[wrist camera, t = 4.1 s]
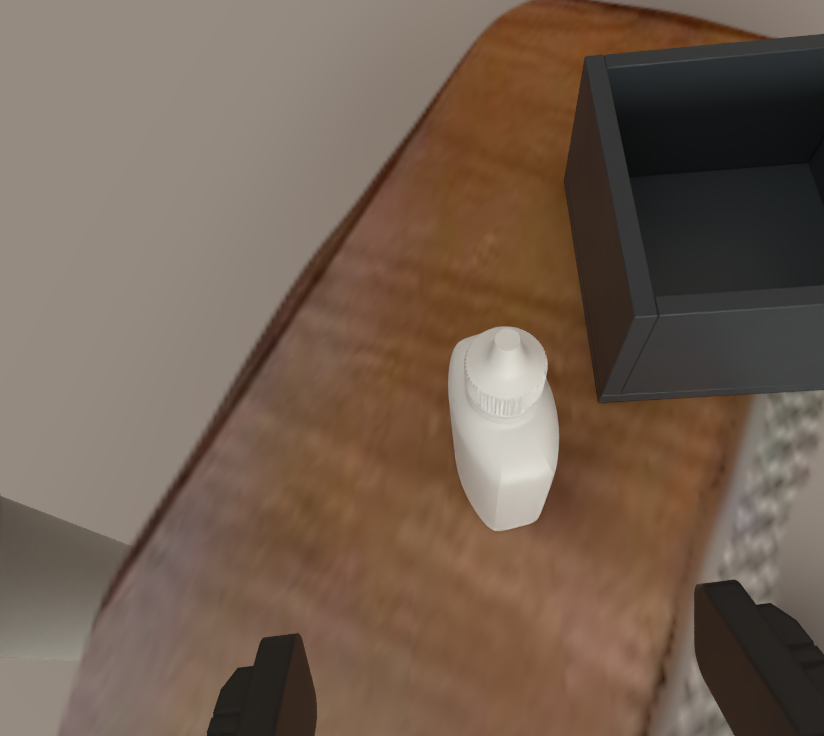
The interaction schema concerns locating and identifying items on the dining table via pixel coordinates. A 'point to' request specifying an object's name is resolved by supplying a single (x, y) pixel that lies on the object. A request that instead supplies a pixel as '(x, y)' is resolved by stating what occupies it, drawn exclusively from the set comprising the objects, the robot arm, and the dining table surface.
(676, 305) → the bin
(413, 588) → the dining table surface
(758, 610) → the robot arm
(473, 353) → the eye dropper bottle
